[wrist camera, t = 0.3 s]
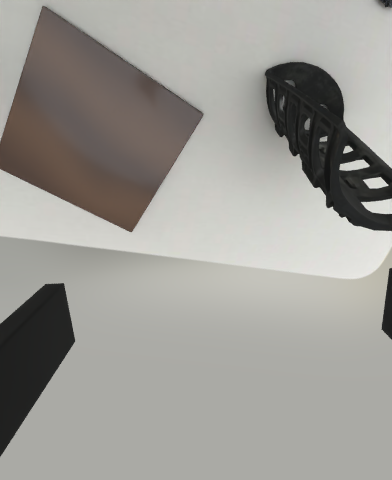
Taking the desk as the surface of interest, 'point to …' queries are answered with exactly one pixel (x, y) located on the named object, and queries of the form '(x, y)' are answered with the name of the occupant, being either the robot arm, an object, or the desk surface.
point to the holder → (326, 142)
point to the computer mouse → (387, 3)
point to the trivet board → (92, 125)
